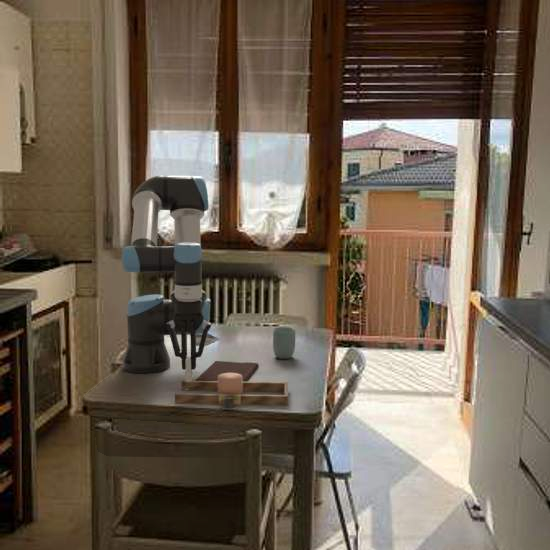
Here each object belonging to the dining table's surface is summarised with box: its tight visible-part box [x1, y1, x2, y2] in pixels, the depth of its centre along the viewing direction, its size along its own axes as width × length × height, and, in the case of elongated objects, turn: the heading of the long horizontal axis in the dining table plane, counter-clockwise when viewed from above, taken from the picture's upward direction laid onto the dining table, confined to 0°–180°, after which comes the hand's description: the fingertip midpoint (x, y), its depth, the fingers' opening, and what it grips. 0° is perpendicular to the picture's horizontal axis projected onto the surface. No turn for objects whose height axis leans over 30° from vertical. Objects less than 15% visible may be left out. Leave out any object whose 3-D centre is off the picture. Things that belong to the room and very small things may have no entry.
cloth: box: [196, 333, 221, 347], centre depth 234 cm, size 26×14×2 cm, turn 175°
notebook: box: [194, 360, 260, 382], centre depth 191 cm, size 15×20×2 cm
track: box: [174, 380, 289, 409], centre depth 170 cm, size 31×14×2 cm, turn 89°
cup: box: [272, 326, 296, 360], centre depth 210 cm, size 8×8×10 cm
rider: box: [217, 373, 243, 395], centre depth 171 cm, size 7×7×6 cm
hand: (189, 380), depth 171 cm, fingers closed
